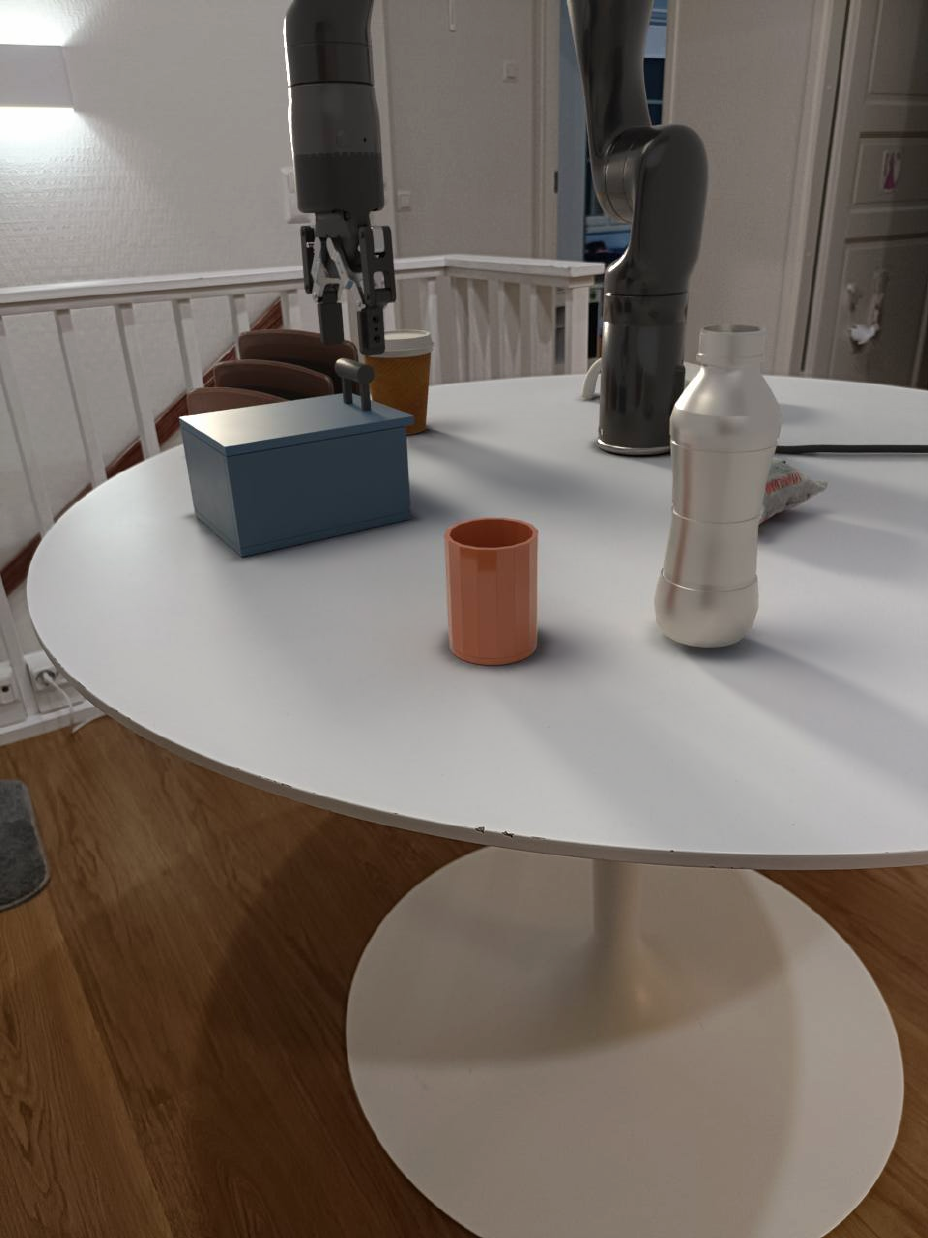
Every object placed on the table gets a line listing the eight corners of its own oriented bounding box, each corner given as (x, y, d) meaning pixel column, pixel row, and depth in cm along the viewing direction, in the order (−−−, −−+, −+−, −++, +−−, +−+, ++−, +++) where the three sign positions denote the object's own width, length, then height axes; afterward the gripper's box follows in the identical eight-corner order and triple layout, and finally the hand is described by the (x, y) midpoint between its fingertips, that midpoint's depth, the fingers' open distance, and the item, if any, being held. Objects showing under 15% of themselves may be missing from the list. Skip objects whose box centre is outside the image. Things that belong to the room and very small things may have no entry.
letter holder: (255, 438, 113) (240, 323, 107) (371, 459, 102) (361, 333, 96) (192, 456, 106) (172, 334, 100) (309, 480, 95) (295, 346, 89)
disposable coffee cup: (428, 439, 110) (424, 339, 105) (356, 437, 112) (347, 340, 107) (445, 421, 118) (441, 328, 113) (377, 420, 120) (370, 329, 115)
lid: (350, 400, 90) (346, 349, 88) (414, 424, 80) (411, 367, 77) (179, 425, 82) (170, 370, 80) (226, 456, 71) (217, 394, 69)
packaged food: (824, 511, 81) (831, 459, 79) (753, 544, 74) (759, 488, 72) (741, 493, 87) (745, 444, 85) (668, 522, 80) (671, 469, 78)
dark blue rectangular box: (349, 485, 93) (342, 401, 90) (411, 519, 83) (405, 426, 79) (195, 515, 86) (179, 426, 82) (241, 557, 75) (226, 456, 71)
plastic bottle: (640, 620, 62) (659, 323, 53) (734, 614, 62) (767, 318, 54) (667, 663, 56) (692, 338, 48) (770, 656, 57) (814, 333, 48)
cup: (539, 626, 62) (540, 518, 58) (534, 667, 56) (535, 550, 53) (456, 623, 62) (452, 516, 59) (443, 663, 57) (438, 548, 54)
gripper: (416, 145, 70) (425, 354, 77) (341, 154, 81) (355, 337, 88) (330, 144, 67) (347, 363, 74) (264, 154, 78) (284, 344, 85)
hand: (351, 348), depth 81 cm, fingers open, 8 cm apart
